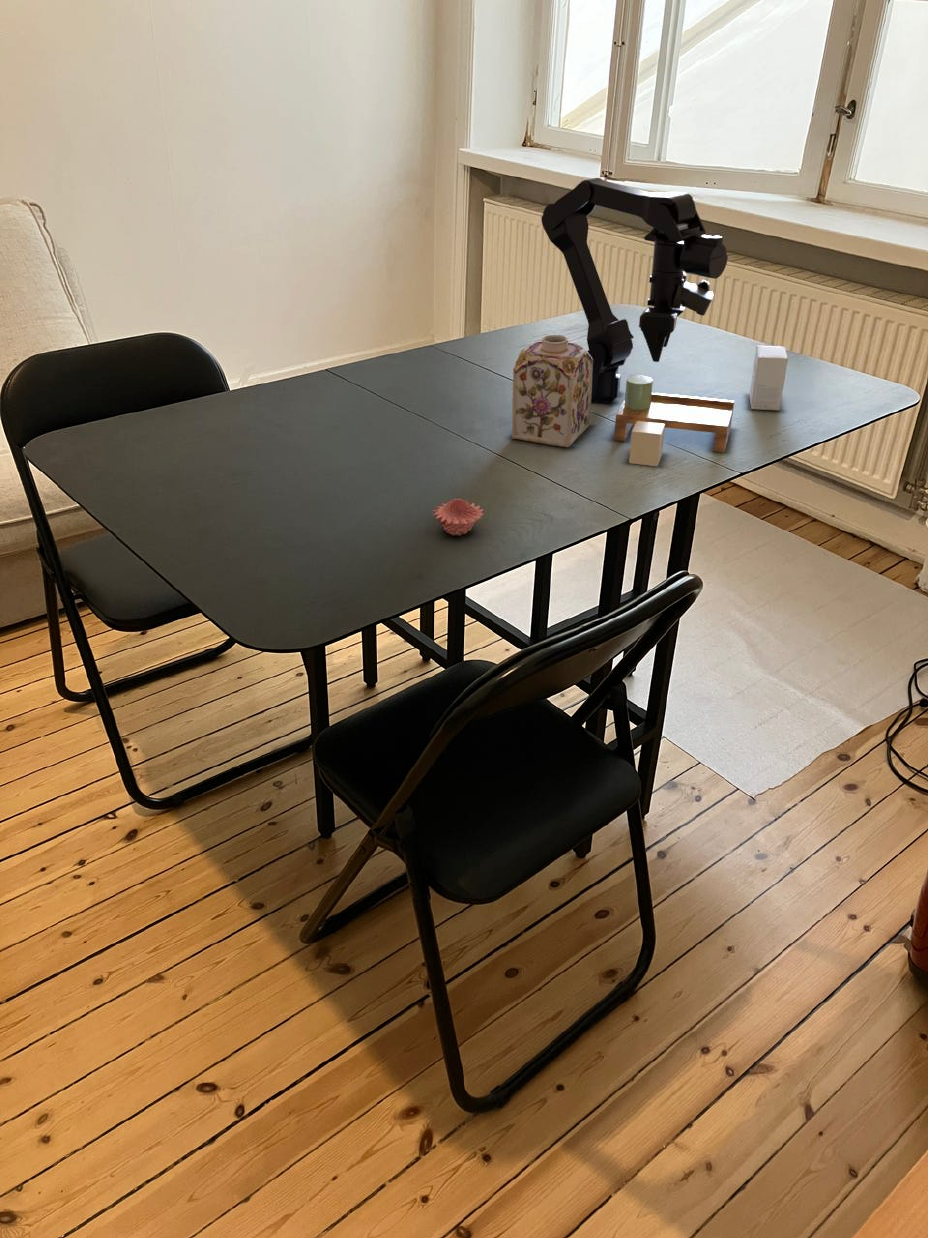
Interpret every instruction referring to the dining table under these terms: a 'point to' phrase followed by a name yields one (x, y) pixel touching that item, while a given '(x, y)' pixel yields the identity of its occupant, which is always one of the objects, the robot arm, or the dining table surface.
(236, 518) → the dining table surface
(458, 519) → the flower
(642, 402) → the ceramic canister
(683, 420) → the shelf
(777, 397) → the small box
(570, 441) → the decorative jar
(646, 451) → the cream block
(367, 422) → the dining table surface
